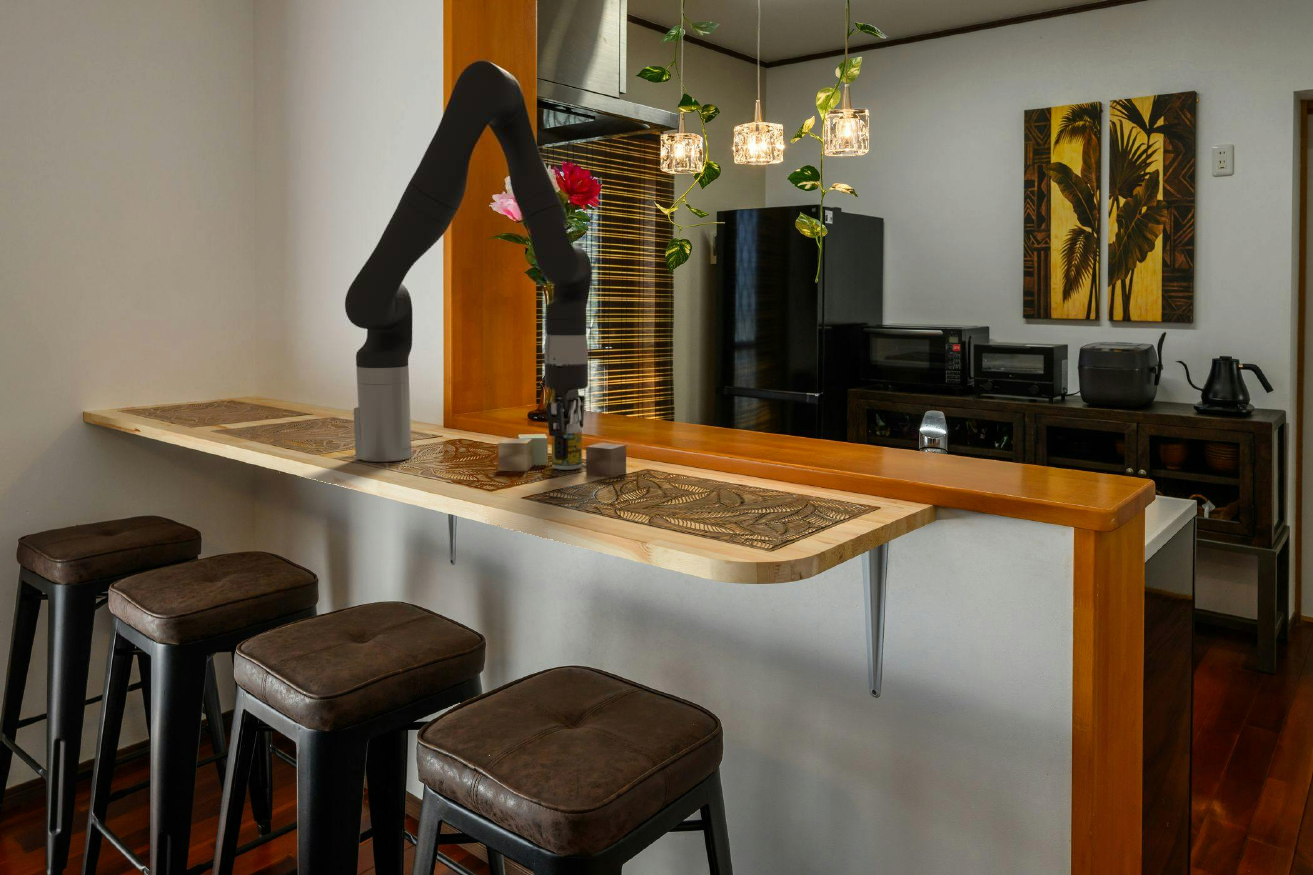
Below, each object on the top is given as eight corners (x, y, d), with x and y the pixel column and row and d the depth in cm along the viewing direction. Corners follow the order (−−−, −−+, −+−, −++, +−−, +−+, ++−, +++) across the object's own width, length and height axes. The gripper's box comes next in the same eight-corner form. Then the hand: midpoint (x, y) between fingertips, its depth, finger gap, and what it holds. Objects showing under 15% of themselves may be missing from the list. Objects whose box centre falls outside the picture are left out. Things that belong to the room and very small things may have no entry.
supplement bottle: (573, 463, 164) (573, 411, 162) (587, 468, 159) (587, 414, 158) (546, 466, 161) (546, 412, 159) (560, 471, 156) (560, 416, 155)
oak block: (498, 471, 158) (498, 442, 157) (504, 465, 163) (504, 438, 162) (526, 471, 158) (526, 443, 157) (532, 466, 163) (531, 438, 162)
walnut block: (586, 475, 154) (586, 446, 154) (601, 470, 159) (601, 442, 158) (611, 478, 152) (611, 449, 151) (626, 473, 156) (626, 444, 156)
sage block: (520, 466, 163) (519, 438, 162) (518, 461, 168) (518, 434, 167) (547, 465, 164) (547, 437, 163) (545, 460, 169) (545, 433, 168)
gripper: (559, 358, 165) (559, 449, 168) (531, 363, 151) (532, 462, 154) (598, 359, 163) (598, 451, 166) (573, 364, 149) (574, 464, 152)
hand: (566, 456), depth 160 cm, fingers closed on supplement bottle, 5 cm apart
